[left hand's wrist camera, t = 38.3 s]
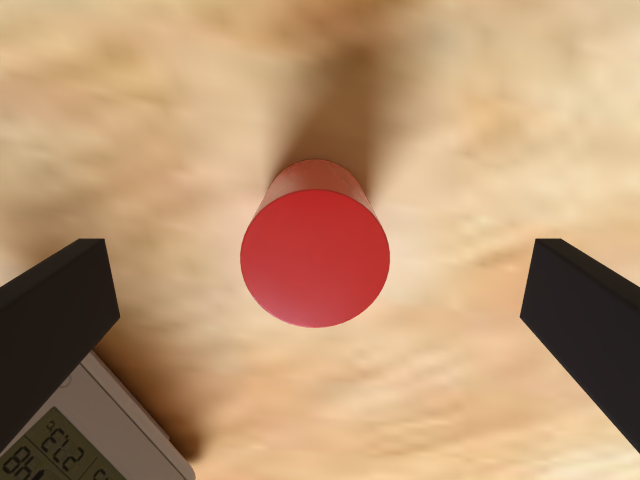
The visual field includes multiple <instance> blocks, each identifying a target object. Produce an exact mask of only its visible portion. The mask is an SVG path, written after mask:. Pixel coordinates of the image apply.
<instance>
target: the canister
mask: <svg viewBox="0 0 640 480" xmlns="http://www.w3.org/2000/svg"><path fill="white" fill-rule="evenodd" d="M240 264H241V271H242V275H243V278H244V281H245V283H246V286H247V288H248V290H249V291H250V293H251V295H252V296H253V298H254V299H255V300H256V301H257V302H258V304H259V305H260V306H261V307H263V308H264V309H265V310H266V311H267V312H269V313H270V314H271V315H273V316H274V317H276V318H278V319H280V320H282V321H284V322H287V323H289V324H293V325H296V326H302V327H310V328H320V327H329V326H334V325H337V324H341V323H344V322H346V321H348V320H350V319H352V318H354V317H356V316H357V315H359V314H360V313H362V312H363V311H364V310H366V309H367V308H368V307H369V306H370V305H371V304H372V303H373V301H374V300H375V299H376V298H377V296H378V295H379V293H380V292H381V290H382V288H383V286H384V284H385V282H386V279H387V275H388V272H389V265H390V251H389V244H388V241H387V237H386V234H385V232H384V230H383V228H382V226H381V224H380V222H379V220H378V218H377V216H376V214H375V213H374V211H373V209H372V207H371V205H370V203H369V201H368V199H367V198H366V196H365V194H364V192H363V190H362V188H361V186H360V184H359V183H358V181H357V180H356V179H355V177H354V176H353V175H352V174H351V173H350V172H349V171H348V170H346V169H345V168H343V167H342V166H340V165H338V164H336V163H333V162H331V161H327V160H321V159H309V160H304V161H300V162H297V163H294V164H292V165H290V166H289V167H287V168H286V169H284V170H283V171H282V172H281V173H280V174H278V176H277V177H276V178H275V179H274V180H273V182H272V184H271V185H270V187H269V189H268V191H267V193H266V195H265V196H264V198H263V200H262V202H261V204H260V206H259V208H258V209H257V211H256V213H255V215H254V217H253V219H252V221H251V223H250V224H249V226H248V228H247V231H246V233H245V235H244V238H243V242H242V245H241V253H240Z"/></svg>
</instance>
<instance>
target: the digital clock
mask: <svg viewBox="0 0 640 480" xmlns="http://www.w3.org/2000/svg"><path fill="white" fill-rule="evenodd" d="M169 439H170V437H169V436H168V435H167V434H166V433H165V431H164V430H163V429H162V428H161V427H160V426H159V425H158V424H157V422H156V421H155V420H154V419H153V418H152V417H151V416H150V414H149V413H148V412H147V411H146V410H145V409H144V408H143V407H142V405H141V404H140V403H139V402H138V401H137V400H136V399H135V398H134V396H133V395H132V394H131V393H130V392H129V391H128V390H127V388H126V387H125V386H124V385H123V384H122V383H121V382H120V381H119V379H118V378H117V377H116V376H115V375H114V374H113V373H112V372H111V370H110V369H109V368H108V367H107V366H106V365H105V364H104V363H103V361H102V360H101V359H100V358H99V357H98V356H97V355H96V353H95V352H94V351H93V350H91V351H90V352H89V353H88V355H87V356H86V357H85V358H84V359H83V360H82V361H81V363H80V364H79V365H78V366H77V367H76V368H75V369H74V370H73V372H72V373H71V374H70V375H69V376H68V377H67V378H66V380H65V381H64V382H63V383H62V384H61V385H60V386H59V388H58V389H57V390H56V391H55V392H54V393H53V394H52V395H51V397H50V398H49V399H48V400H47V401H46V402H45V403H44V405H43V406H42V407H41V408H40V409H39V410H38V411H37V413H36V414H35V415H34V416H33V417H32V418H31V419H30V420H29V422H28V423H27V424H26V425H25V426H24V427H23V428H22V430H21V431H20V432H19V433H18V434H17V435H16V436H15V438H14V439H13V440H12V441H11V442H10V443H9V444H8V446H7V447H6V448H5V449H4V450H3V451H2V452H1V453H0V480H195V478H196V477H195V473H194V471H193V469H192V467H191V466H190V465H189V463H188V462H187V461H186V460H185V459H184V458H183V456H182V455H181V454H180V453H179V452H178V451H177V450H176V448H175V447H174V446H173V445H172V444H171V443H170V442H169Z"/></svg>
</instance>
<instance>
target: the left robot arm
mask: <svg viewBox="0 0 640 480" xmlns="http://www.w3.org/2000/svg"><path fill="white" fill-rule="evenodd" d="M119 318H120V313H119V308H118V304H117V299H116V294H115V289H114V284H113V279H112V274H111V269H110V264H109V259H108V254H107V249H106V244H105V239H78V240H76V241H75V242H73V243H71V244H70V245H68V246H66V247H65V248H63V249H62V250H60V251H58V252H57V253H55V254H53V255H52V256H50V257H49V258H47V259H45V260H44V261H42V262H40V263H39V264H37V265H36V266H34V267H32V268H31V269H29V270H27V271H26V272H24V273H23V274H21V275H19V276H18V277H16V278H14V279H13V280H11V281H10V282H8V283H6V284H5V285H3V286H2V287H0V453H1V452H2V451H3V450H4V449H5V448H6V447H7V446H8V444H9V443H10V442H11V441H12V440H13V439H14V438H15V436H16V435H17V434H18V433H19V432H20V431H21V430H22V428H23V427H24V426H25V425H26V424H27V423H28V422H29V420H30V419H31V418H32V417H33V416H34V415H35V414H36V413H37V411H38V410H39V409H40V408H41V407H42V406H43V405H44V403H45V402H46V401H47V400H48V399H49V398H50V397H51V395H52V394H53V393H54V392H55V391H56V390H57V389H58V388H59V386H60V385H61V384H62V383H63V382H64V381H65V380H66V378H67V377H68V376H69V375H70V374H71V373H72V372H73V370H74V369H75V368H76V367H77V366H78V365H79V364H80V363H81V361H82V360H83V359H84V358H85V357H86V356H87V355H88V353H89V352H90V351H91V350H92V349H93V348H94V347H95V345H96V344H97V343H98V342H99V341H100V340H101V339H102V338H103V336H104V335H105V334H106V333H107V332H108V331H109V330H110V328H111V327H112V326H113V325H114V324H115V323H116V322H117V320H118V319H119ZM520 318H521V319H522V320H523V322H524V323H525V324H526V325H527V326H528V327H529V328H530V330H531V331H532V332H533V333H534V334H535V335H536V336H537V338H538V339H539V340H540V341H541V342H542V343H543V344H544V345H545V347H546V348H547V349H548V350H549V351H550V352H551V353H552V355H553V356H554V357H555V358H556V359H557V360H558V361H559V363H560V364H561V365H562V366H563V367H564V368H565V369H566V370H567V372H568V373H569V374H570V375H571V376H572V377H573V378H574V380H575V381H576V382H577V383H578V384H579V385H580V386H581V388H582V389H583V390H584V391H585V392H586V393H587V394H588V395H589V397H590V398H591V399H592V400H593V401H594V402H595V403H596V405H597V406H598V407H599V408H600V409H601V410H602V411H603V413H604V414H605V415H606V416H607V417H608V418H609V419H610V420H611V422H612V423H613V424H614V425H615V426H616V427H617V428H618V430H619V431H620V432H621V433H622V434H623V435H624V436H625V438H626V439H627V440H628V441H629V442H630V443H631V444H632V446H633V447H634V448H635V449H636V450H637V451H638V452H639V453H640V287H638V286H637V285H635V284H634V283H632V282H630V281H629V280H627V279H626V278H624V277H622V276H621V275H619V274H617V273H616V272H614V271H613V270H611V269H609V268H608V267H606V266H604V265H603V264H601V263H600V262H598V261H596V260H595V259H593V258H591V257H590V256H588V255H587V254H585V253H583V252H582V251H580V250H578V249H577V248H575V247H574V246H572V245H570V244H569V243H567V242H565V241H564V240H562V239H535V244H534V249H533V254H532V259H531V264H530V269H529V274H528V279H527V284H526V289H525V294H524V299H523V304H522V308H521V313H520Z"/></svg>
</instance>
